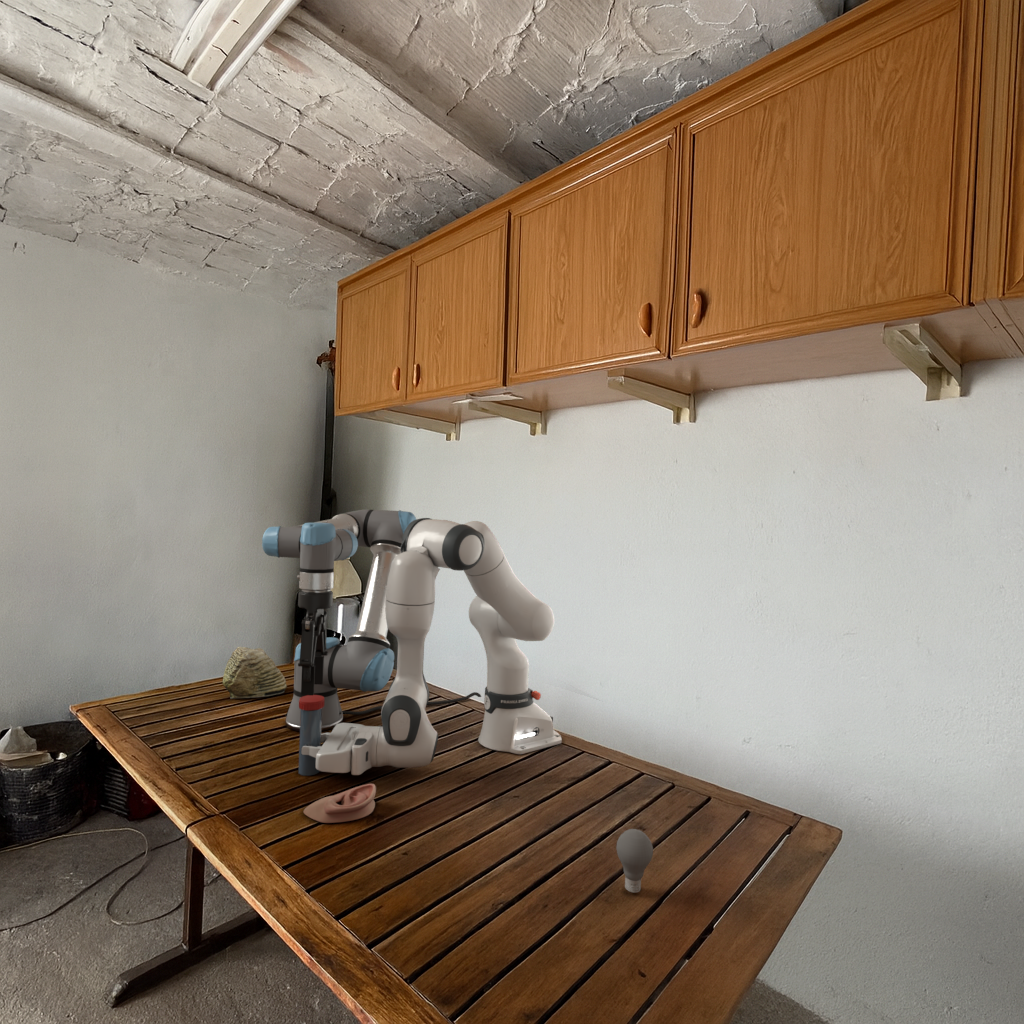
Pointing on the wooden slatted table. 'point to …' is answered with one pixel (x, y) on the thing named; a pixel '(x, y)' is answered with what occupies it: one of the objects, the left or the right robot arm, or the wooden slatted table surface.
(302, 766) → the blue grey capped cylinder
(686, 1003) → the wooden slatted table surface
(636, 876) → the light bulb
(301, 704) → the lid
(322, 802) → the anatomical model
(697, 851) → the wooden slatted table surface
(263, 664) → the fossil
